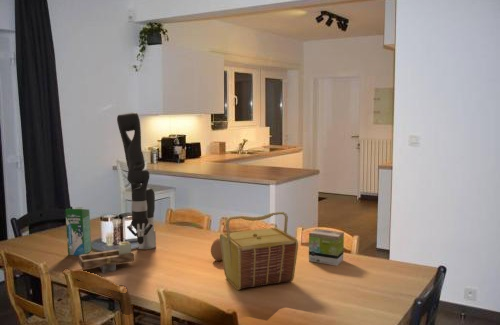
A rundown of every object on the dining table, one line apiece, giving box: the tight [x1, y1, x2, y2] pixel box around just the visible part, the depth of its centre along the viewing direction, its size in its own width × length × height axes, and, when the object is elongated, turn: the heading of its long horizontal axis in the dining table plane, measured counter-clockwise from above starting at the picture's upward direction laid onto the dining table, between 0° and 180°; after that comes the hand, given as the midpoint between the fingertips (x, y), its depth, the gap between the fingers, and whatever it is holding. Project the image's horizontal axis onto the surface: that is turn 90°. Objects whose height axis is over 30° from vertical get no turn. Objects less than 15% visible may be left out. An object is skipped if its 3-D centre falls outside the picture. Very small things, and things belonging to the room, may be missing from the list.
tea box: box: [308, 228, 345, 267], centre depth 239 cm, size 15×10×15 cm, turn 62°
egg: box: [210, 238, 223, 262], centre depth 242 cm, size 8×8×11 cm
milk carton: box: [64, 206, 92, 256], centre depth 257 cm, size 9×9×25 cm
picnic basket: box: [219, 211, 299, 291], centre depth 213 cm, size 29×26×30 cm
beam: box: [77, 248, 135, 274], centre depth 234 cm, size 24×14×6 cm, turn 117°
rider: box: [117, 241, 132, 255], centre depth 237 cm, size 5×5×7 cm
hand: (140, 243), depth 241 cm, fingers closed
